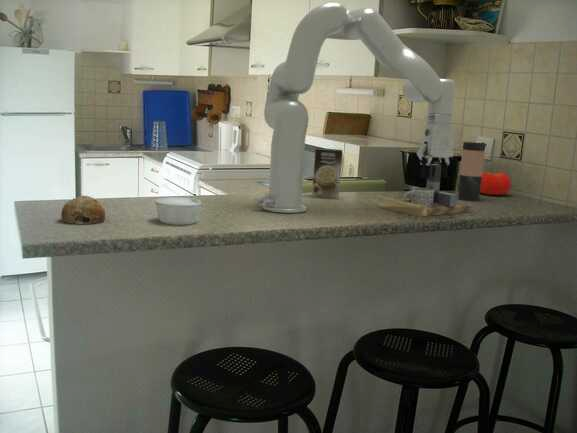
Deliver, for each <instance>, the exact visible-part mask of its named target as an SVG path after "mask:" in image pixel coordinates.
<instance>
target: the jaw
mask: <svg viewBox="0 0 577 433" xmlns="http://www.w3.org/2000/svg"><path fill="white" fill-rule="evenodd" d="M429 166H431V172H430V178H429V179H427V178H426V187H425V188H429V189H434V200H433V203H435V204H434V205H442V206H449V207H450V206H456V205H457V201H458V194H456V193H450V192H446V191H440V185H441V178H442V177H441V166H442V165H439V164H438V163H430V165H429ZM408 188H409V189H408V192H409V191H412V188H421V187H419V186H409V187H408ZM407 197H408V198H407V199H411V198H412V195H408V196H407Z"/></svg>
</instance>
